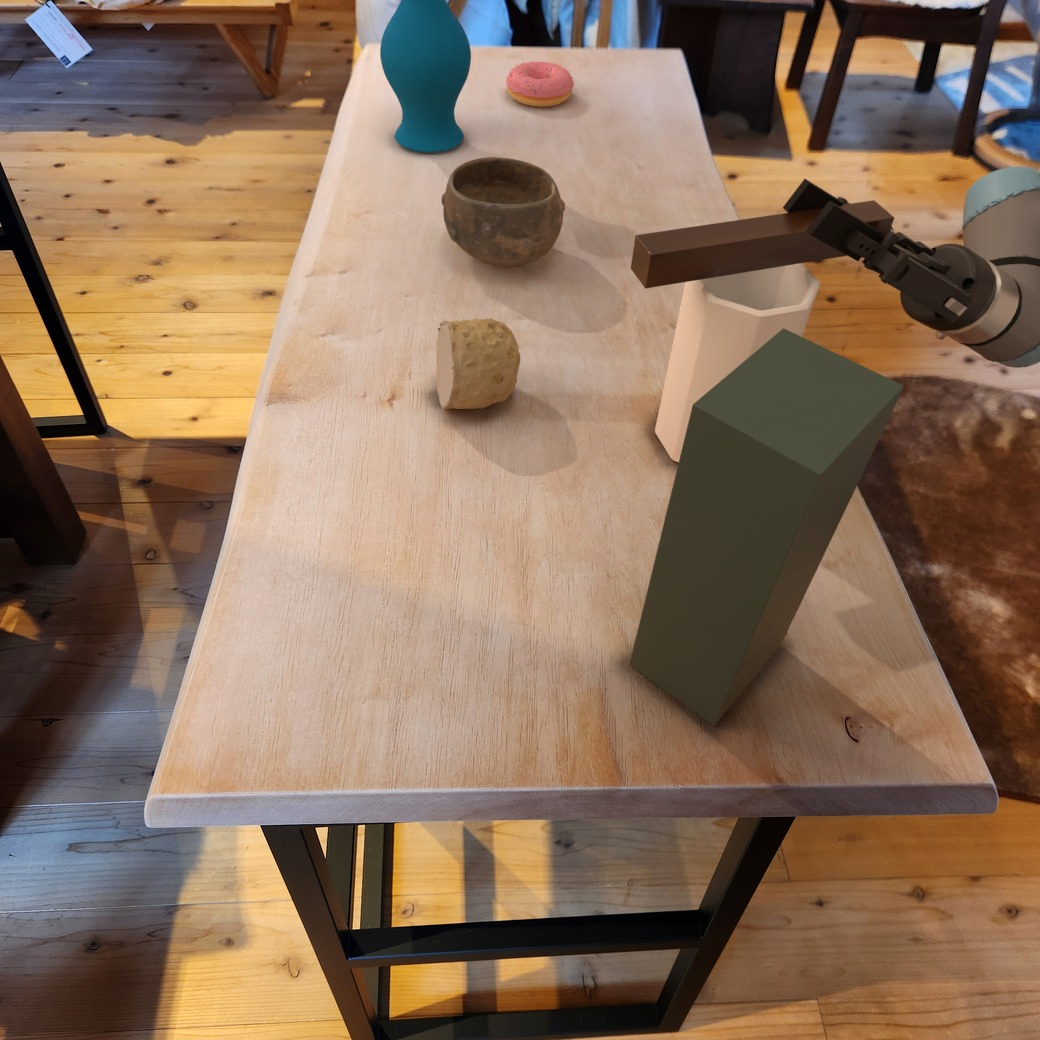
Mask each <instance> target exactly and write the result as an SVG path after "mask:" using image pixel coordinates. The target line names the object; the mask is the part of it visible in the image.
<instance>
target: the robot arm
mask: <svg viewBox="0 0 1040 1040" xmlns="http://www.w3.org/2000/svg"><path fill="white" fill-rule="evenodd" d="M845 204H851V202H849V201H848V200H847V199H846V198H845V197H841V196H838V197H836V196H834V195H832V194H831V193H829V192H827V191H826V190H824V189H823V188H821V187H820V186H818V185H816V184H815V183H813V182H811V181H810V180H808V179H807V178H804V179H803V180H802V182H801V183H799V185H798V187H797V188H795V190H794V192H793V193H792V195H791V196H790V197H789V198H788V200H787V201H786V202H785V203H784V205H783V206H782V209H783V210H784V211H785V213H790V212H797V211H804V210H811V209H817V208H823V210H822V211H821V212H820V213H819V215H818V216H817V217H816V218H815V220H814V221H813V222H812V223H811V225H810V226H809V227H808V228H807V230H806V231H807V232H808V233H809V234H810V235H811V236H813V237H815V238H817V239H819V240H820V241H822V242H824V243H826V244H828V245H829V246H831V247H833V248H835V249H837V250H838V251H840V252H842V253H844V254H845V255H847V256H846V257H849V258H851V259H853V260H854V261H856V262H859V261H860V260H861V259H863V260H862V261H861V263H862V264H863V267H864V268H866V269H867V270H870V271H873V272H875V273H877V274H879V275H878V278H880V281H881V282H882V283H883V284H887V285H889V286H891V287H892V288H895V289H896V290H897V291H899V299H900V305H901V306H902V309H903V311H904V312H905V313H906V314H907V316H908V317H909V318H911V319H912V320H914V321H915V322H917V323H919V324H921V325H923V326H925V327H927V328H929V329H931V330H934V331H936V332H935V337H936V338H937V339H939V340H940V341H942V340H944V339H945V338H947V337H948V338H950V339H951V340H953V341H955V342H957V343H958V344H960V345H963V346H965V347H967V348H968V349H971V350H972V351H974V352H975V353H977V354H978V355H980V356H981V357H982V358H983V359H985V360H987V361H990V362H992V363H998V364H1001V365H1002V366H1005V367H1008V368H1016V369H1019V368H1028V367H1031V366H1034V365H1037V364H1039V363H1040V171H1038V170H1036V169H1034V168H1033V167H1029V166H1008V167H1003V168H999V169H995V170H993V171H990V172H989V173H987V174H984V175H983V176H981V177H979V178H978V179H977V180H975V182H973V183H972V184H971V186H969V187H968V189H967V191H966V194H965V196H964V204H963V212H962V213H963V214H962V225H961V231H962V244H959V243H944V244H940V245H936V246H934V247H931V248H930V247H929V246H928V245H926V244H925V243H924V242H921V241H920V240H918V241H915V240H913V239H912V238H910V237H909V236H907V235H906V234H904V233H903V232H900V231H898V232H895V229H894V228H893V226H891V228H890V230H889V231H888V232H887V233H886V234H885V235H884V237H883V238H882V239H881V240H880V241H879V242H877V241H876V240H877V239H878V237H879V236H880V235H881V233H880V232H879V231H878V230H877V229H875V228H873V227H872V226H870V225H869V224H867V223H865V222H864V221H862V220H860V219H859V218H857V217H856V216H854V215H852V214H851V213H849V212H847V211H846V210H844V209H842V208H841V207H839V206H838V205H845Z"/></svg>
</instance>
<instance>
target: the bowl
mask: <svg viewBox="0 0 1040 1040" xmlns="http://www.w3.org/2000/svg"><path fill="white" fill-rule="evenodd" d="M441 204H442V206H443V207H442V210H443V211H442V213H443V215H442V216H443V221H444V224H445V228H446V231H447V233H448V236H449V238H450V240H451V241H452V242H454V243H455V244H456V245H457V246H458V247H459V248H460V249H461V250H462V251H464V253H466V254H467V255H469V256H471V257H473V258H474V259H476V260H478V261H480V262H481V263H484V264H485V265H488V266H490V267H492V268H497V269H503V270H507V269H509V270H510V269H517V268H521V267H524V266H526V265H529V264H532V263H535V262H536V261H538V260H540V259H542V258H543V257H544V256H545V255H546V254H548V252H549V251H550V250H551V249H552V248H553V247H554V245H555V244H556V242H557V240H558V238H559V235H560V233H561V229H562V226H563V221H564V212H565V211H566V204H565V202H564V201H563V199H562V198H561V194H560V192H559V189H558V185H557V184H556V181H555V180H554V178H553V177H552V175H551V174H550V173H549V172H547V171H546V170H545V169H544V168H542V167H540V166H538V165H536V164H534V163H530V162H527V161H524V160H519V159H515V158H507V157H498V156H488V157H487V156H486V157H479V158H475V159H471V160H468V161H466V162H464V163H462V164H460V165H457V167H456V168H455V169H453V170H452V172H451V174H450V175H449V178H448V181H447V183H446V187H445V192H444V193H442V194H441Z"/></svg>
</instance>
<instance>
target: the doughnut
mask: <svg viewBox="0 0 1040 1040" xmlns="http://www.w3.org/2000/svg"><path fill="white" fill-rule="evenodd" d="M574 81H575V80H574V78H573V77H572V75H571V73H570V71H569V70H567V67H563V66H561V65H559V64H557V63H553V62H549V61H533V60H531V61H528V62H522V63H520V64H516V66H514V67H513V68H511V70H510V71H509V73H508V74H507V77H506V82H505V83H506V88H507V92H508V94H509V95H510V96H511V98H512V99H514V100H515V101H517V102H518V103H521V104H524V105H526V106H531V107H538V108H539V107H540V108H541V107H543V108H544V107H552V106H553V107H554V106H557V105H559V104H562V103H563V102H565V101H566V100H568V99H569V98H570V96H571V94H572V92H573V89H574V85H575V83H574Z"/></svg>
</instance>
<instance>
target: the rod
mask: <svg viewBox="0 0 1040 1040" xmlns="http://www.w3.org/2000/svg"><path fill="white" fill-rule="evenodd" d="M838 206H839V207H841V208H842V209H844V210H846V211H847V212H849V213H851V214H852V215H854V216H856V217H857V218H859V219H860V220H862V221H864V222H865V223H867V224H869V225H870V226H872V227H873V228H875V229H877V230H878V231H879V232H880V233H881V235H880V236H879V237H878V239H877V240H876V241H877V242H879V241H880V240H881V239H882V238H883V237H884V235H885V234H886V233H887V232H888V231H889V230H890V228H891V226H892V225H893V223H894V221H895V216H894V215H892V214H891V213H890V212H889V211H888V210H887V209H885V208H884V207H883V206H882V205H881V204H879V203H878V202H877V201H876V200H873V199H872V200H866V201H860V202H851V203H850V204H845V205H838ZM822 210H823V208H817V209H811V210H804V211H797V212H790V213H788V212H784V213H776V214H770V215H763V216H757V217H756V216H755V217H751V218H742V219H737V220H729V221H722V222H715V223H709V224H702V225H695V226H689V227H681V228H675V229H674V228H673V229H668V230H662V231H654V232H647V233H641V234H635V236H634V243H633V250H632V257H631V263H630V270H631V271H632V273H633V274H634V275H635V277H636V278H637V280H638V281H639V282H640V284H641V285H642V286H643V287H644V289H651V288H658V287H664V286H670V285H675V284H682V283H685V282H689V281H695V280H701V279H707V278H714V277H720V276H726V275H732V274H738V273H744V272H750V271H757V270H763V269H769V268H775V267H781V266H787V265H793V264H800V263H802V264H805V263H811V262H817V261H823V260H830V259H835V258H842V257H848V256H847V255H845V254H844V253H842V252H840V251H838V250H837V249H835V248H833V247H831V246H829V245H828V244H826V243H824V242H822V241H820V240H819V239H817V238H815V237H813V236H811V235H810V234H809V233H808V232H807V231H806V230H807V228H808V227H809V226H810V225H811V223H812V222H813V221H814V220H815V218H816V217H817V216H818V215H819V213H820V212H821V211H822ZM892 227H893V226H892Z"/></svg>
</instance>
